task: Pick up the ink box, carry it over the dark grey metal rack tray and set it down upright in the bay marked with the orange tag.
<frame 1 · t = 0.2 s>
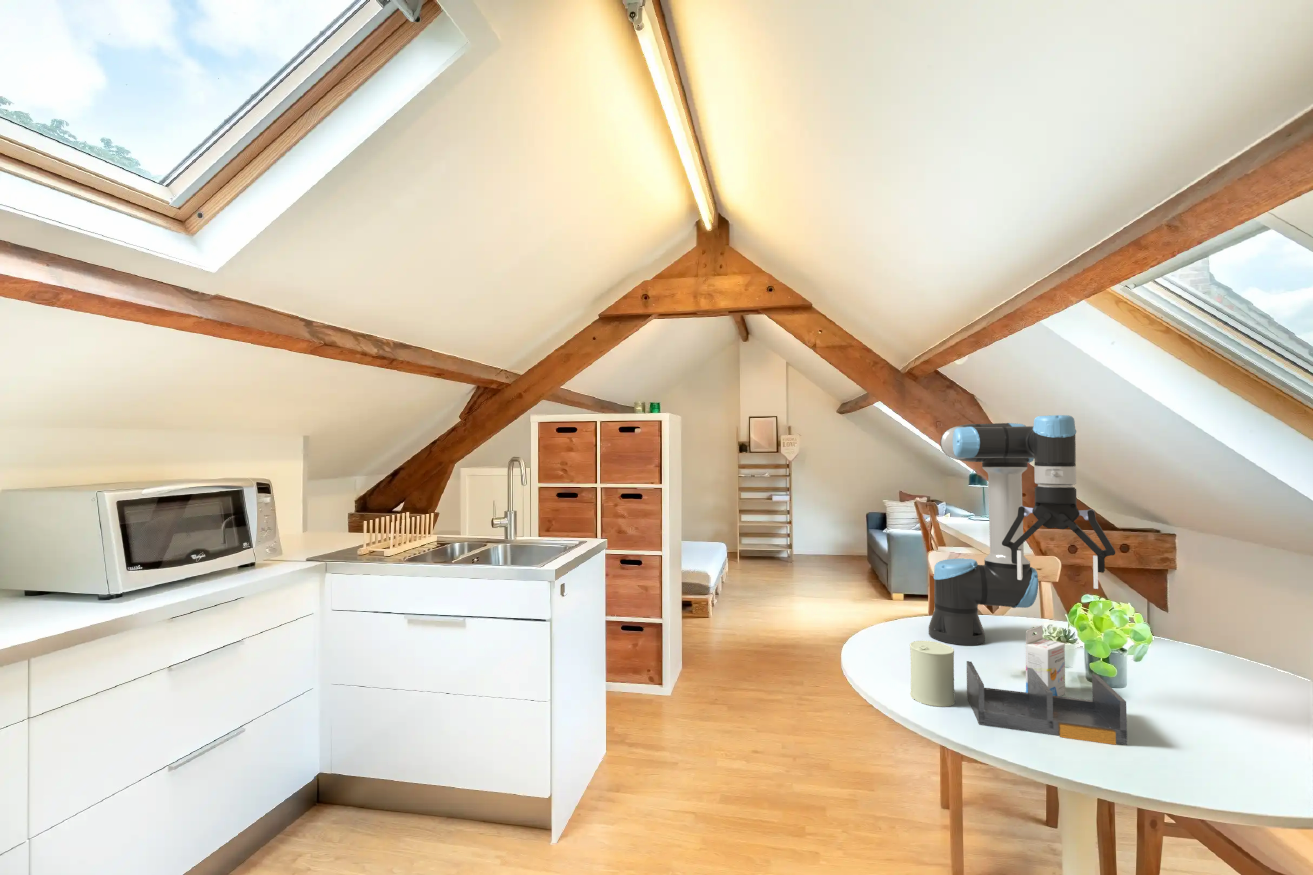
hand: (1056, 583, 126), 27 cm above the table, fingers open, 13 cm apart
can: (932, 698, 131), on the table
rack: (1039, 719, 120), on the table
ink box: (1045, 695, 133), on the table
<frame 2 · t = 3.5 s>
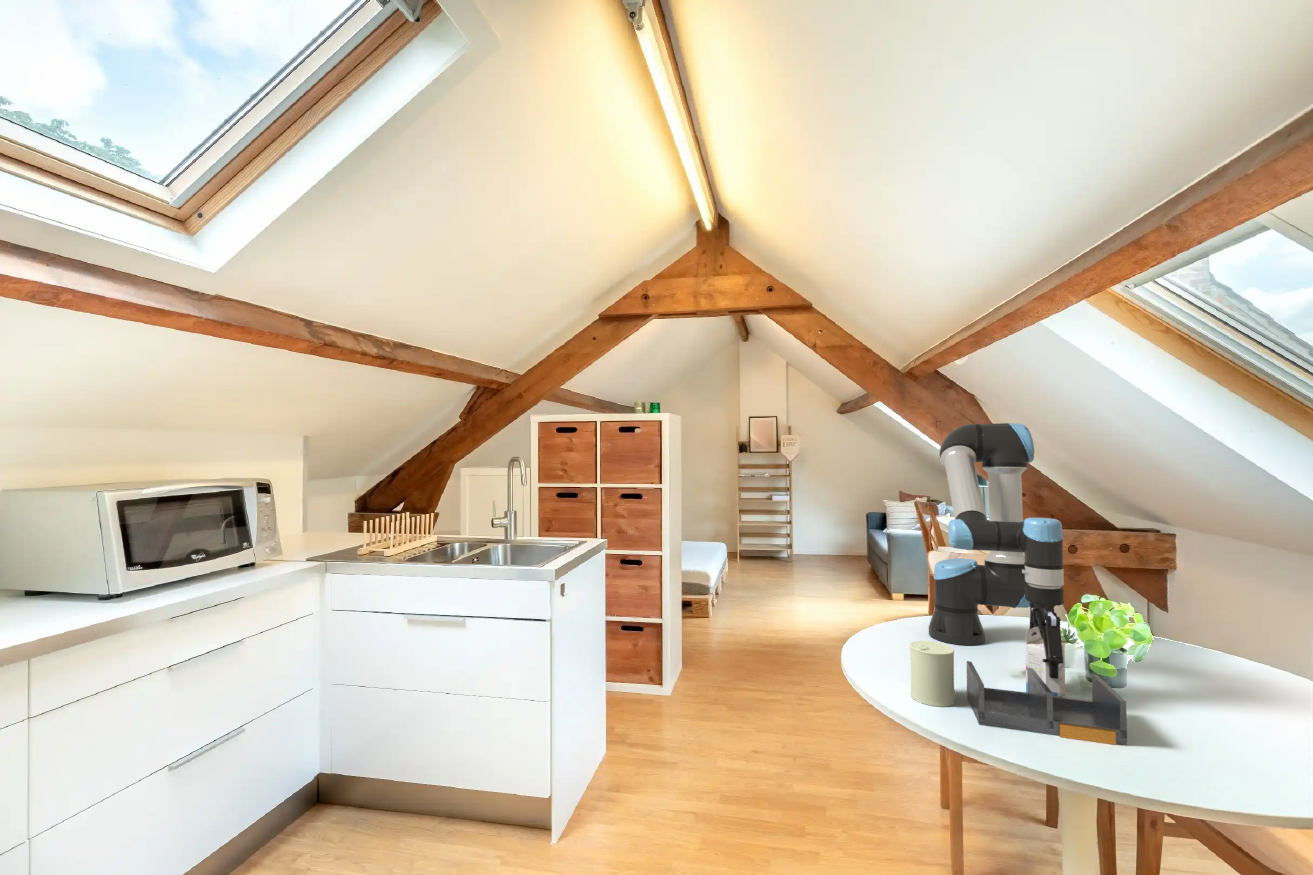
hand: (1045, 682, 133), 3 cm above the table, fingers closed on ink box, 9 cm apart
ink box: (1045, 695, 133), on the table, touching gripper
everything else where it was.
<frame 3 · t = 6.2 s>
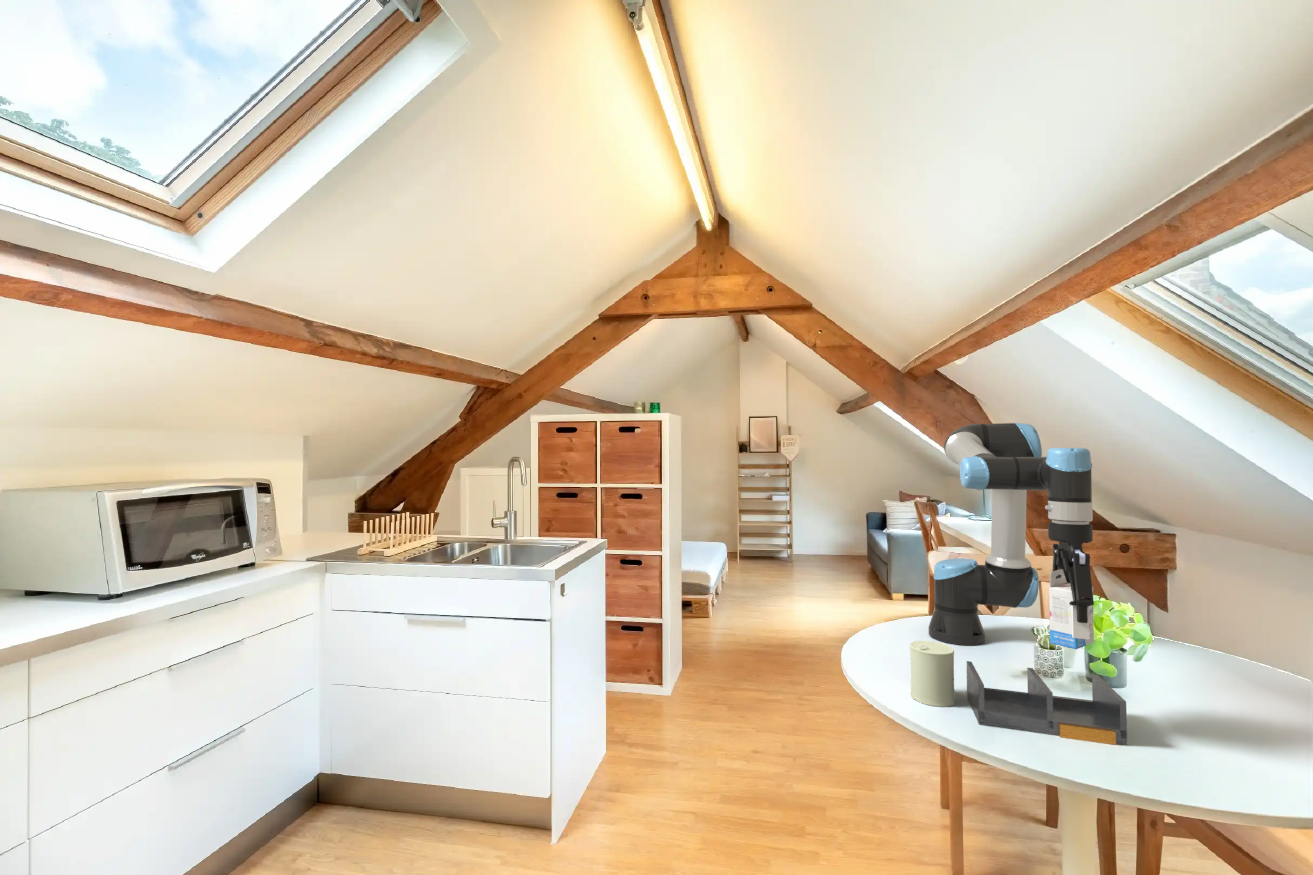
hand: (1072, 630, 119), 19 cm above the table, fingers closed on ink box, 9 cm apart
ink box: (1072, 644, 119), point 16 cm above the table, touching gripper
everything else where it was.
when the fingers open (5 cm above the table, at t = 9.4 s): ink box drops 2 cm, resting on rack.
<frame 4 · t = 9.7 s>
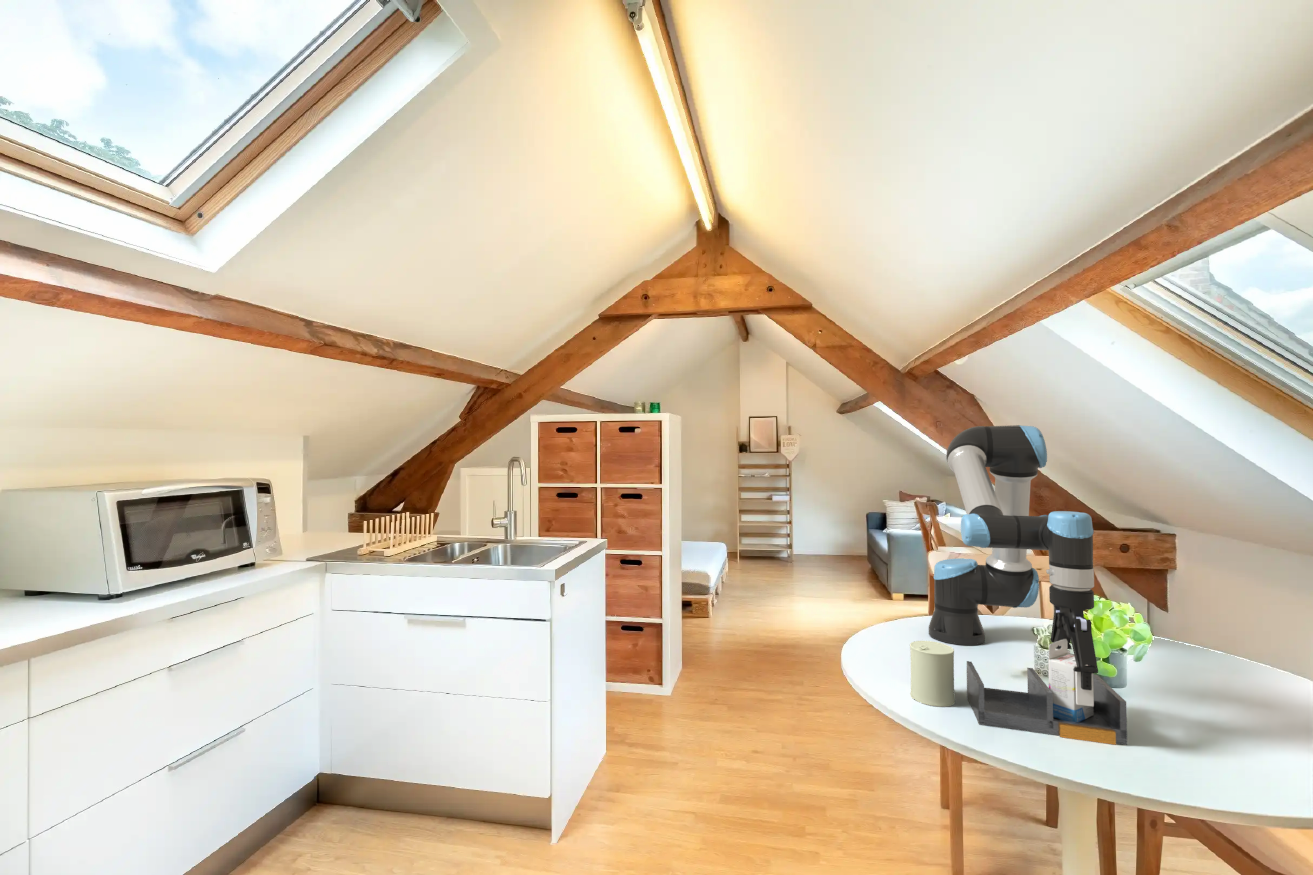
hand: (1073, 691, 119), 6 cm above the table, fingers open, 12 cm apart
ink box: (1071, 716, 119), point 1 cm above the table, touching rack
everything else where it was.
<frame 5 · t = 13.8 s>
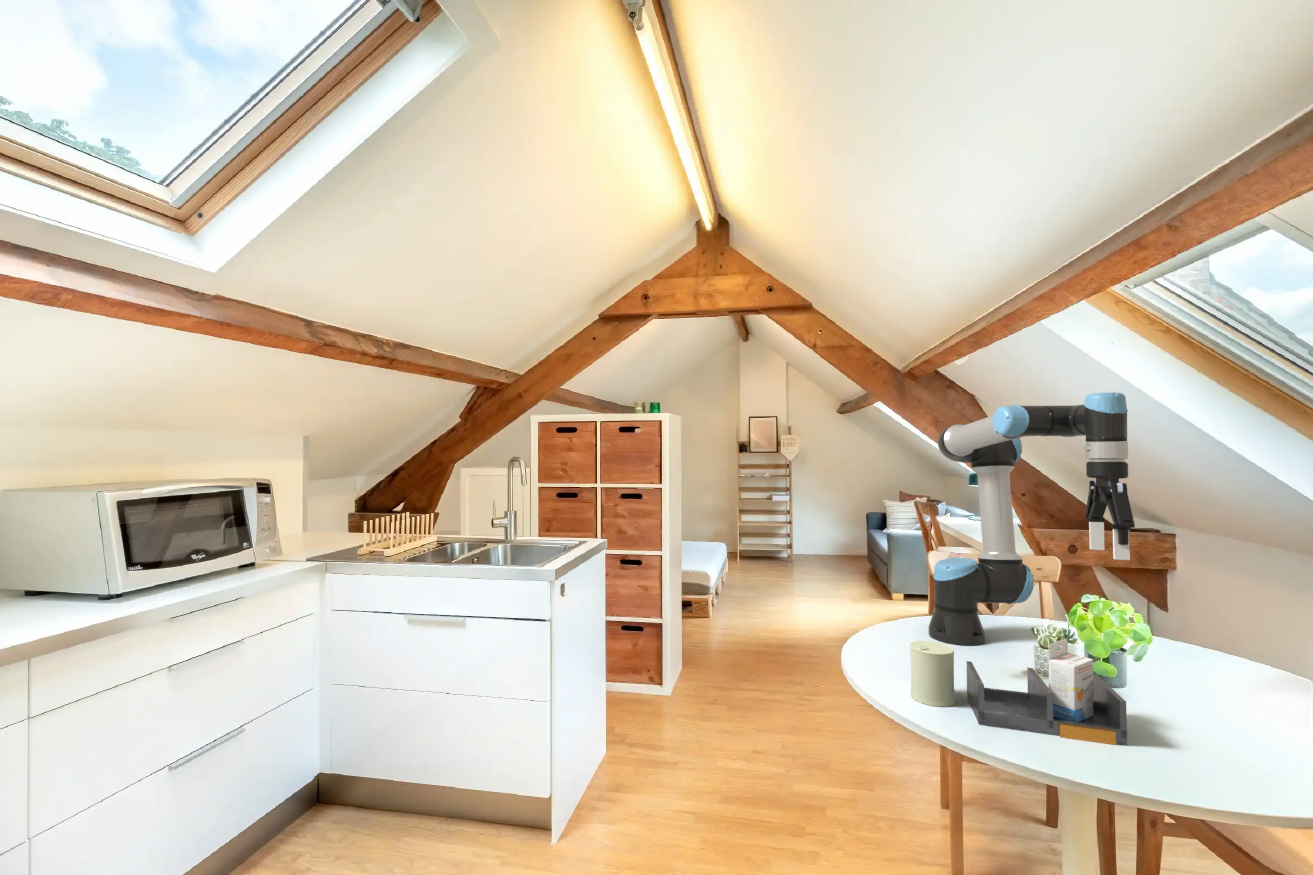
hand: (1108, 554, 130), 33 cm above the table, fingers open, 13 cm apart
nothing on the table moved.
at the end: ink box inside the target area on the rack (0.9 cm from its centre), point 1.0 cm above the rack's base; ink box tilted 0°; the gripper is holding nothing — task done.
